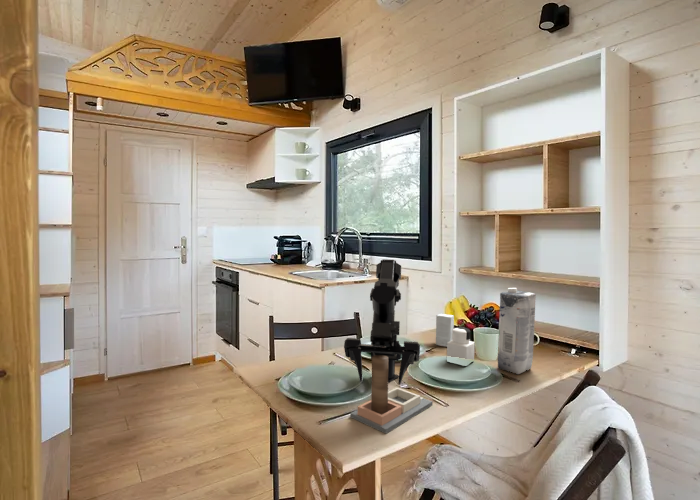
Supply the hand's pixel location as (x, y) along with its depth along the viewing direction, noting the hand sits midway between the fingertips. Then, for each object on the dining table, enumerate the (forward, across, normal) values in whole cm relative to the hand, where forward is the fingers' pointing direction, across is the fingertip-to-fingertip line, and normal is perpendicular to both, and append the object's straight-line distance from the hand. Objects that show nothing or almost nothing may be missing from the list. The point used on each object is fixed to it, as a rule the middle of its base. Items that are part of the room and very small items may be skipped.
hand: (379, 382), depth 95 cm
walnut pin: (+5, 0, +7) cm, 9 cm away
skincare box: (-40, +22, +54) cm, 70 cm away
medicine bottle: (-26, +26, +40) cm, 54 cm away
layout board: (+3, +3, +11) cm, 12 cm away
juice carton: (-24, +43, +37) cm, 61 cm away
